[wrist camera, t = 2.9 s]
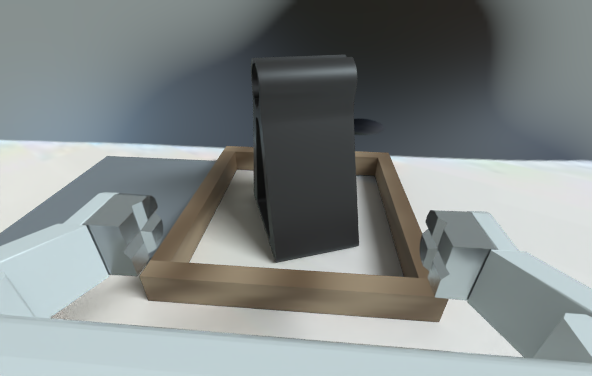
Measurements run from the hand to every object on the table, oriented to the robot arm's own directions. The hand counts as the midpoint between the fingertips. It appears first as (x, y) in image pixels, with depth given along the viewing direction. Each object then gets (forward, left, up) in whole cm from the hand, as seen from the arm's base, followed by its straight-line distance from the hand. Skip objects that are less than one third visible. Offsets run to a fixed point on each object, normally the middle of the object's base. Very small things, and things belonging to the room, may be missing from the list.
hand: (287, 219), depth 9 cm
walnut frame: (0, +12, -9) cm, 15 cm away
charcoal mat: (-15, +13, -9) cm, 22 cm away
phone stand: (0, +12, -10) cm, 16 cm away
